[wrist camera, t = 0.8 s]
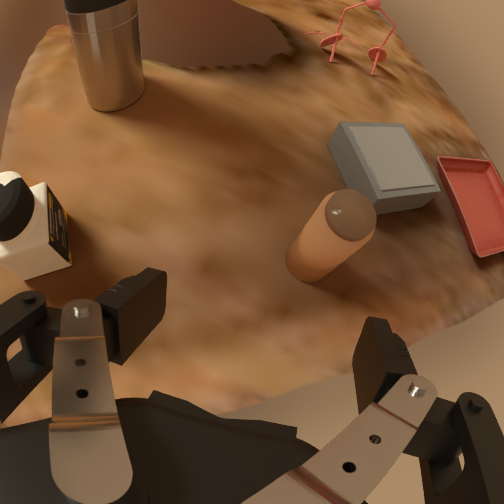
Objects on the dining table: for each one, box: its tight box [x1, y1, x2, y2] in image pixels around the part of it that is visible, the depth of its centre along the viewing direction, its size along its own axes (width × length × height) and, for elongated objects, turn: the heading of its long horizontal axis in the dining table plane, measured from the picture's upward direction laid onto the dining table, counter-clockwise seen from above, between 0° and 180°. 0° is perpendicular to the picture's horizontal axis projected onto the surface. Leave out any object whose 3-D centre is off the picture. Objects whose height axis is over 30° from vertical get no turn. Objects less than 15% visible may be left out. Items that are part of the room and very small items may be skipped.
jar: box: [286, 189, 377, 283], centre depth 30 cm, size 5×5×12 cm
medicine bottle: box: [0, 171, 72, 280], centre depth 26 cm, size 7×7×12 cm
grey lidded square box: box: [327, 122, 441, 215], centre depth 40 cm, size 12×12×5 cm
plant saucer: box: [437, 156, 504, 258], centre depth 44 cm, size 18×18×3 cm
